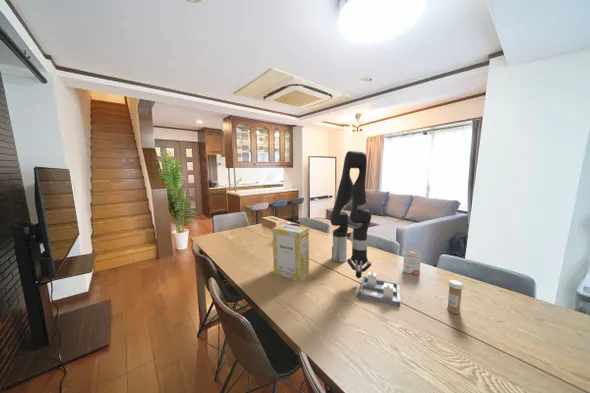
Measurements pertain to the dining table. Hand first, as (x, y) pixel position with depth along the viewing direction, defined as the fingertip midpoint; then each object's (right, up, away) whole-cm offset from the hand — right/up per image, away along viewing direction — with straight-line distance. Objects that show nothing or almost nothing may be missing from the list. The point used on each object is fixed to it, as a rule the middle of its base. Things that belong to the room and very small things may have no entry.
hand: (358, 277), depth 114 cm
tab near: (+10, -4, -13) cm, 17 cm away
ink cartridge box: (+35, -2, +13) cm, 37 cm away
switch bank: (+8, -5, -8) cm, 12 cm away
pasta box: (-36, -3, +13) cm, 39 cm away
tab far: (+6, -2, -2) cm, 7 cm away
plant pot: (-36, +5, +70) cm, 79 cm away
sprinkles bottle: (+35, -6, -22) cm, 41 cm away
